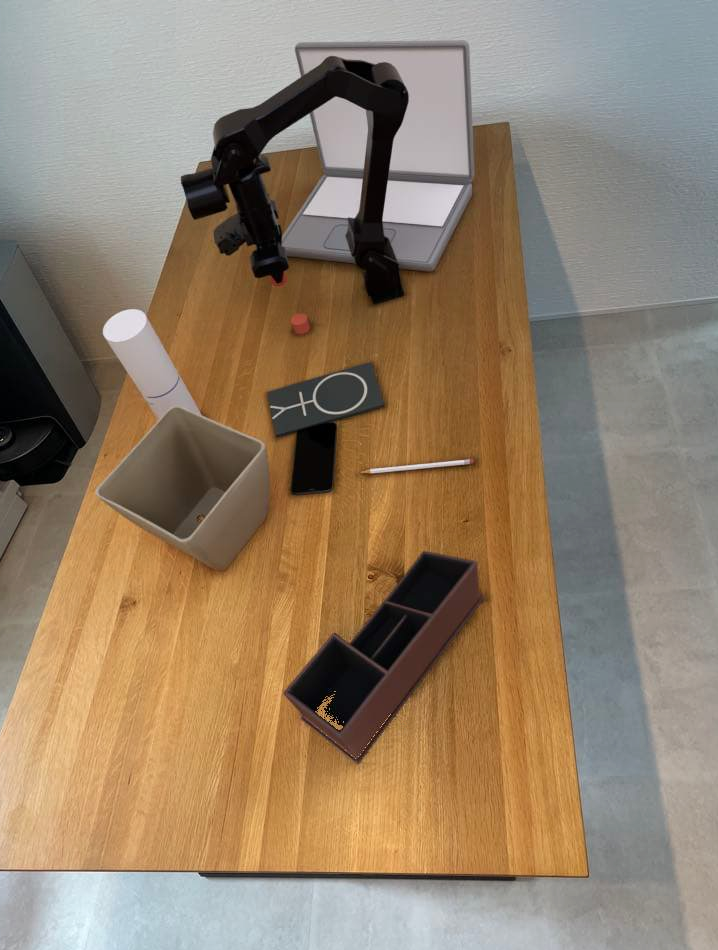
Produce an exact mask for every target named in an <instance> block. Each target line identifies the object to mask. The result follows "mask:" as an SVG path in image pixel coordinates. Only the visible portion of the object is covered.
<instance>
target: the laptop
mask: <svg viewBox="0 0 718 950" xmlns="http://www.w3.org/2000/svg"><path fill="white" fill-rule="evenodd" d="M294 53H295V58H296V62H297V66H298V69H299V74H300V77H302V76H303V75H305V74H306V73H308V72H309V71H311V70H312V69H314V68H315V67H317V66H318V65H320V64H321V63H322V62H323V61H324V60H325V58H327V57H329V56H336V57H340V58H343V59H347V60H363V61H366V62H369V63H373V64H378V63H381V62H387V63H390V64H392V65H393V66H395V68H396V69H397V71H398V73H399V75H400V76H401V78H402V80H403V82H404V84H405V86H406V88H407V91H408V94H409V102H408V106H407V109H406V113H405V116H404V119H403V122H402V125H401V127H400V128H399V130H398V132H397V133H396V135H395V137H394V140H393V147H392V154H391V161H390V168H389V176H388V183H387V190H386V197H385V204H384V211H383V219H382V222H383V230H384V236H386V237H388V238H389V240H390V242H391V245H392V248H393V250H394V253H395V256H396V258H397V261H398V263H399V270H400V269H401V270H409V271H417V272H418V271H419V272H427V273H431V272H433V271H434V270H436V268H437V266H438V265H439V262H440V260H441V258H442V256H443V254H444V252H445V250H446V248H447V246H448V244H449V242H450V240H451V238H452V236H453V234H454V232H455V230H456V228H457V227H458V224H459V223H460V220H461V218H462V217H463V214H464V212H465V210H466V208H467V206H468V204H469V202H470V200H471V198H472V196H473V185H472V182H473V181H474V178H475V176H476V175H475V154H474V153H475V152H474V129H473V126H474V125H473V108H472V107H473V102H472V101H473V100H472V78H471V77H472V76H471V53H470V44H469V41H467V40H465V39H448V40H447V39H446V40H445V39H441V40H440V39H439V40H376V41H372V40H371V41H369V40H368V41H304V42H302V41H301V42H298V43H296V45H295V47H294ZM309 117H310V121H311V127H312V130H313V134H314V139H315V143H316V147H317V151H318V157H319V160H320V164H321V169H322V171H323V175H322V176H321V178H320V179H319V180H318V182H317V183H316V185H315V186H314V188H313V190H311V192H310V193H309V195H308V197H307V198H306V200H305V202H304V203H303V204H302V206H301V207H300V209H299V210H298V212H297V214H296V215H295V216H294V218H293V219H292V221H291V222H290V224H289V226H288V227H287V229H286V230H285V232H284V233H282V246H283V247H284V248H285V250H286V256H287V257H293V258H301V259H311V260H319V261H329V262H336V263H347V264H355V265H356V262H355V259H354V257H352V255H351V252H350V249H349V246H348V243H347V240H346V237H345V235H346V233H347V230H348V217H350V218H355V217H356V215H357V214H358V212H359V208H360V199H361V190H362V181H363V171H364V162H365V153H366V144H367V135H368V124H367V116H366V109H363V108H361V107H359V106H357V105H355V104H353V103H352V102H350V101H348V100H346V99H343V98H339V97H334V98H333V99H331V100H330V101H328V102H326V103H325V104H323V105H322V106H320V107H319V108H317V109H316V110H314V111H313V112H311V113H309Z"/></svg>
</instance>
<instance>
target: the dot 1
mask: <svg viewBox="0 0 718 950" xmlns="http://www.w3.org/2000/svg"><path fill="white" fill-rule="evenodd" d="M268 277H269V280H270V284H271V285H272V286H273V287H276V288H280V287H283V286H285V285H286V284H287V283H288V280H289V278H288V275H287V273H286V271H284V273H283V281H282V282H281V283H278V284H277V283H276V282H275V280H274V279H273V278H272V276H271V275H269V276H268Z"/></svg>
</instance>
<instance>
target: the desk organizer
mask: <svg viewBox="0 0 718 950" xmlns="http://www.w3.org/2000/svg"><path fill="white" fill-rule="evenodd" d="M478 569H479V567H478V560H472V559H466V558H462V557H458V556H457V557H456V556H452V555H446V554H442V553H437V552H433V551H428V550H422V551H421V553H420V554H419V555H418V556H417V558H416V560H415V561H414V563H412V565H410V567H409V569H408V570H407V571H406V573H405V574H404V575H403V576H402V578H401V579H400V581H398V583H397V584H396V585H395V586H394V588H393V589H392V590H391V591H390V592H389V594H388V595H387V596H386V598H385V599H384V600H383V601H382V603H380V605H379V606H378V607H377V609H376V610H375V611H374V612H373V613H372V615H371V616H370V617H369V618H368V619H367V621H366V622H365V623H364V624H363V626H362V627H361V628H360V629H359V631H358V632H357V633H356V635H355V636H353V638H352V639H351V640H350V642H348V641H346V640H345V639H343V637H341V636H340V635H339V634H338V633H336V632H333V633H331V635H330V636H329V637H328V638H327V639H326V640H325V642H323V644H322V646H321V647H320V648H319V649H318V650H317V651H316V653H314V655H313V656H312V657H311V658H310V660H308V662H307V663H306V665H305V666H304V667H303V668H302V669H301V671H300V672H299V673H298V674H297V675H296V676H295V678H294V679H293V680H292V681H291V682H290V683H289V685H288V686H287V687H286V688H285V690H284V691H283V695H284V697H285V698H286V699H287V700H288V701H289V702H290V703H291V704H292V705H293V707H294V708H295V709H296V710H297V711H298V712H299V713H300V715H301V717H300V718H299V719H300V720H301V721H302V722H303V723H304V724H306V725H307V726H308V727H309V728H311V729H312V730H313V731H315V732H316V733H317V734H319V735H320V736H321V737H322V738H323V739H325V740H326V741H327V742H329V743H330V744H331V745H333V747H335V748H336V749H337V750H339V752H341V753H342V754H343V755H345V757H346V758H348V759H350V760H351V761H352V762H354V763H355V765H357V766H359V765H360V763H361V761H362V760H363V759H364V757H365V756H367V754H368V753H369V751H370V750H371V749H372V747H373V746H374V744H375V743H376V742H377V741H378V740H379V738H380V736H381V735H382V734H383V732H384V731H385V730H386V729H387V728H388V726H389V725H390V723H391V722H392V721H393V719H394V718H395V717H396V715H397V714H398V713H399V711H400V710H401V709H402V708H403V706H404V705H405V704H406V703H407V701H408V700H409V699H410V697H411V696H412V695H413V694H414V692H415V690H416V689H417V688H418V687H419V685H420V684H421V682H422V681H423V680H424V678H426V676H427V675H428V673H429V672H430V671H431V669H432V668H433V667H434V665H435V664H436V663H437V662H438V660H439V659H440V657H441V656H442V655H443V653H444V652H445V651H446V649H447V648H448V647H449V646H450V644H452V642H453V640H454V639H455V638H456V636H457V635H458V633H459V632H460V631H461V629H462V628H463V627H464V626H465V624H466V623H467V622H468V621H469V619H470V618H471V616H472V615H473V614H474V612H475V611H476V610H477V609H478V608H479V606H480V604H481V603H482V602H483V601H484V600H485V599H486V597H485V596H484V595H482V594H480V583H479V571H478ZM334 691H336V692H334ZM333 694H335V695H333ZM331 695H333V696H331ZM326 696H328V697H330V696H331V697H334V698H332V699H331V700H332V701H331V702H330V704H329V703H328V704H327V705H328V706H326V707H327V709H326V708H324V710H325V711H326V712H325V714H326V713H327V715H330V716H332V715H333V716H332V717H334V718H333V719H330V720H332V721H333V722H334V721H335V719H336V721H337V724H338V725H342V726H343V728H342V729H341V730H338V729H336V728H335V727H334V726H333V725H331V724H330V723H329V722H330V721H329V722H327V721H326V720H325V719H323V718H322V717H321V716H319V715H318V714H317V713H316V712H315V711H317V710H318V709H319V708H318V709H317V707H319V706H320V705H321V704H322V703H323V702H322V701H323V700H324V699H327V698H328V697H326ZM325 697H326V698H325ZM331 697H330V698H331ZM327 700H328V699H327ZM327 700H326V701H327ZM326 701H324V702H326ZM328 701H329V700H328ZM323 707H324V706H323ZM329 708H330V710H329ZM321 711H322V710H321ZM327 711H328V712H327ZM317 712H318V711H317ZM329 713H330V714H329ZM390 714H391V715H390ZM327 715H326V717H327ZM389 715H390V716H389ZM330 716H329V717H330ZM388 716H389V717H388ZM336 717H337V718H336ZM324 718H325V717H324ZM330 718H331V717H330ZM387 718H388V719H387ZM337 719H338V720H337ZM386 719H387V720H386ZM385 720H386V721H385ZM332 721H331V722H332ZM338 721H339V723H338ZM343 721H344V723H343ZM384 722H385V723H384ZM334 723H335V722H334ZM383 723H384V724H383ZM382 724H383V725H382ZM381 726H382V727H381ZM316 727H317V728H316ZM380 727H381V728H380ZM321 731H322V732H321ZM377 731H378V732H377ZM376 732H377V733H376ZM326 735H327V736H326ZM374 735H375V736H374ZM373 736H374V737H373ZM371 739H372V740H371ZM335 742H336V743H335ZM369 742H370V743H369ZM368 743H369V744H368ZM367 744H368V745H367ZM365 747H366V748H365ZM345 750H346V751H345ZM363 750H364V751H363ZM360 754H361V755H360ZM351 755H352V756H351ZM358 756H359V757H358ZM355 758H356V759H355Z"/></svg>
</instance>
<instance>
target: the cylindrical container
mask: <svg viewBox="0 0 718 950" xmlns="http://www.w3.org/2000/svg"><path fill="white" fill-rule="evenodd" d="M102 335H103V337H104V339H105V340H106V342H107V343H108V345H109V346H110V348H111V350H112V351H113V352H114V354H115V356H116V357H117V359H118V360H119V362H120V363H121V365H122V366H123V368H124V369H125V371H126V372H127V374H128V375H129V377H130V379H131V380H132V382H133V384H134V385H135V386H136V388H137V389H138V391H139V393H140V395H142V397H143V399H144V400H145V402H146V404H147V405H148V406H149V408H150V409H151V411H152V413H153V414H154V415H155V417H156V419H157V421H158V420H159V419H160V418H161V417H162V416H163V415H164V414H165V413H166V411H167V410H168V409H169V408H170V407H171V406H174V405H180V406H182V407H184V408H187V409H189V410H191V411H193V412H195V413H198V414H200V415H202V413H201V411H200V409H199V407H198V405H197V404H196V402H195V400H194V399H193V398H194V397H192V395H191V393H190V391H189V390H188V388H187V386H186V385H185V382H184V381H183V379H182V377H181V376H180V374H179V372H178V370H177V368H176V367H175V365H174V363H173V361H172V359H171V358H170V356H169V354H168V352H167V351H166V349H165V346H164V345H163V343H162V342H161V340H160V338H159V337H158V335H157V333H156V331H155V329H154V327H153V326H152V324H151V322H150V320H149V318H148V317H147V315H146V313H145V312H144V311H142V310H140V309H135V308H129V309H125V310H122V311H120V312H117V313H116V314H113V316H111V317H110V318H109V319H108V320H107V321H106V322H105V323H104V326H103V328H102Z"/></svg>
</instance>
